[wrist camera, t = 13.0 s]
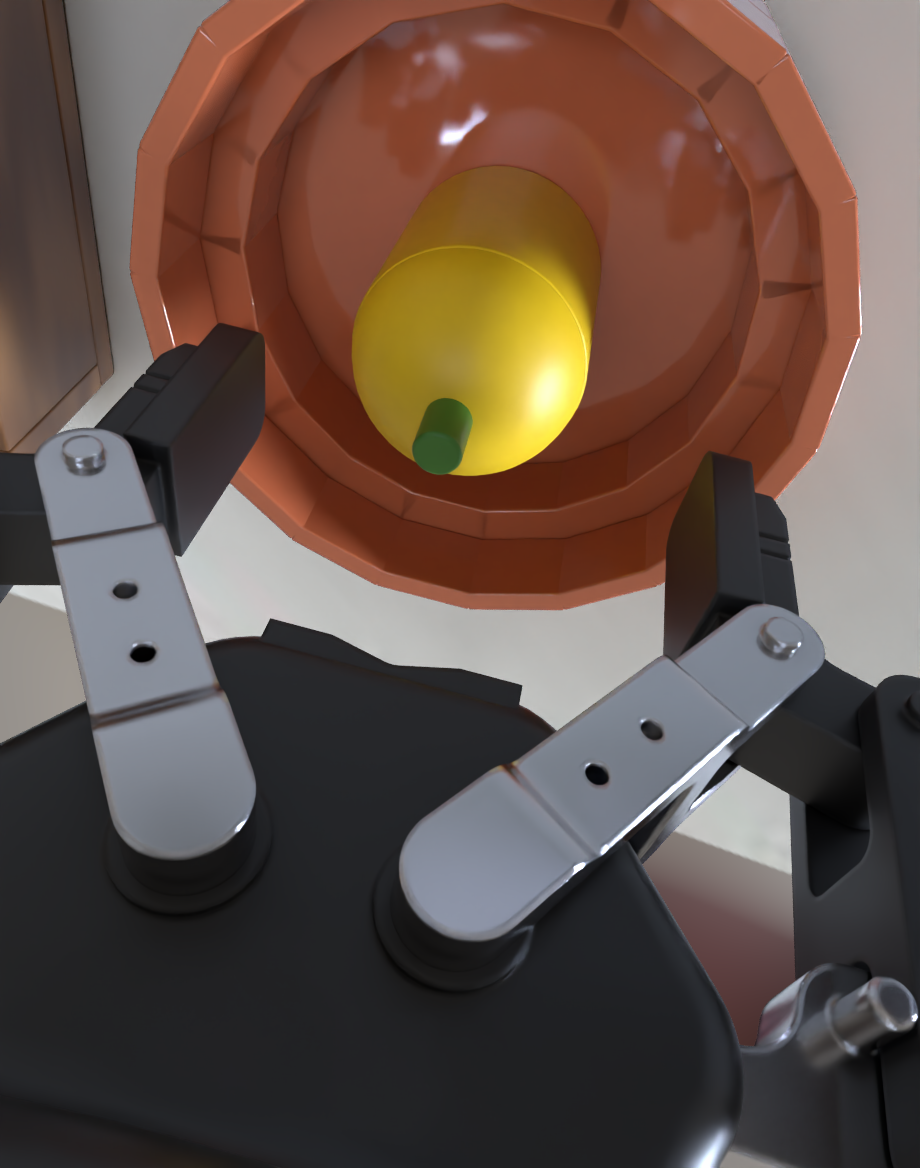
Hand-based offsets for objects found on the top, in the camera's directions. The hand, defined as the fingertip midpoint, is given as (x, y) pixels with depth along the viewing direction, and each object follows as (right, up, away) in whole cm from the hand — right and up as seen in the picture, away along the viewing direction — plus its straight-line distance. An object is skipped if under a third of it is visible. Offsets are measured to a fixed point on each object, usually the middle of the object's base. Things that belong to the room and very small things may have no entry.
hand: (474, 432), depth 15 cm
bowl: (+1, +5, +5) cm, 8 cm away
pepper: (+1, +5, +5) cm, 7 cm away
